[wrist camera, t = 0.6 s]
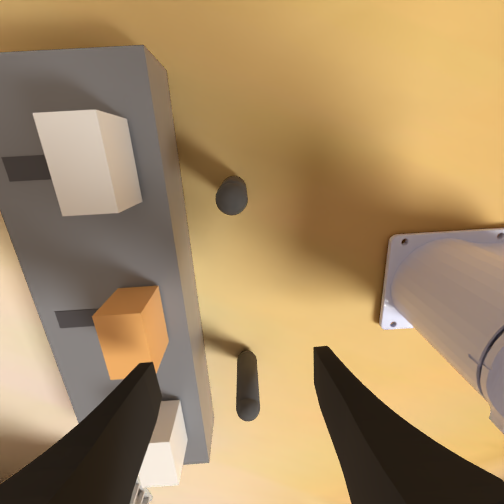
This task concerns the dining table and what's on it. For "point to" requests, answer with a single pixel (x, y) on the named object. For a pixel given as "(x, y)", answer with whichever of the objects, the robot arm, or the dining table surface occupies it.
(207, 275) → the dining table surface
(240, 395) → the cord posts
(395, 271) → the robot arm
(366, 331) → the dining table surface
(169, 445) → the paddle
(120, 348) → the orange block
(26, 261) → the breaker panel
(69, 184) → the paddle
